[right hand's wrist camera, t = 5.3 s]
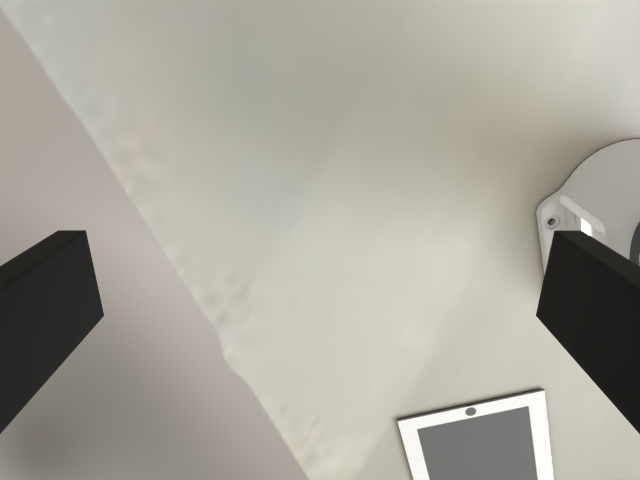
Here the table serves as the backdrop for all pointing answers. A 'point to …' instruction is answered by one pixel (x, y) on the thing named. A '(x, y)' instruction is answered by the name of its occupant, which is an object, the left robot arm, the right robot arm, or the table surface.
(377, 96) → the table surface
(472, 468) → the tablet
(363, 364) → the table surface
